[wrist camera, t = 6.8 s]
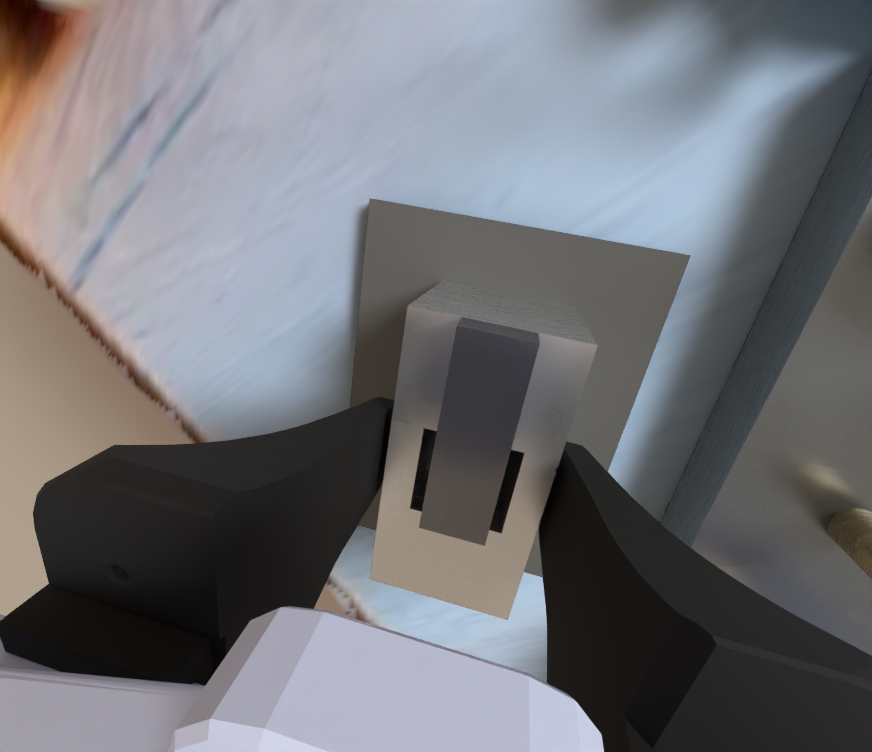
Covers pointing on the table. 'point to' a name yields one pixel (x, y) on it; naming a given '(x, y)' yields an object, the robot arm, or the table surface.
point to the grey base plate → (800, 420)
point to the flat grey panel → (523, 277)
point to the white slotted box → (476, 441)
